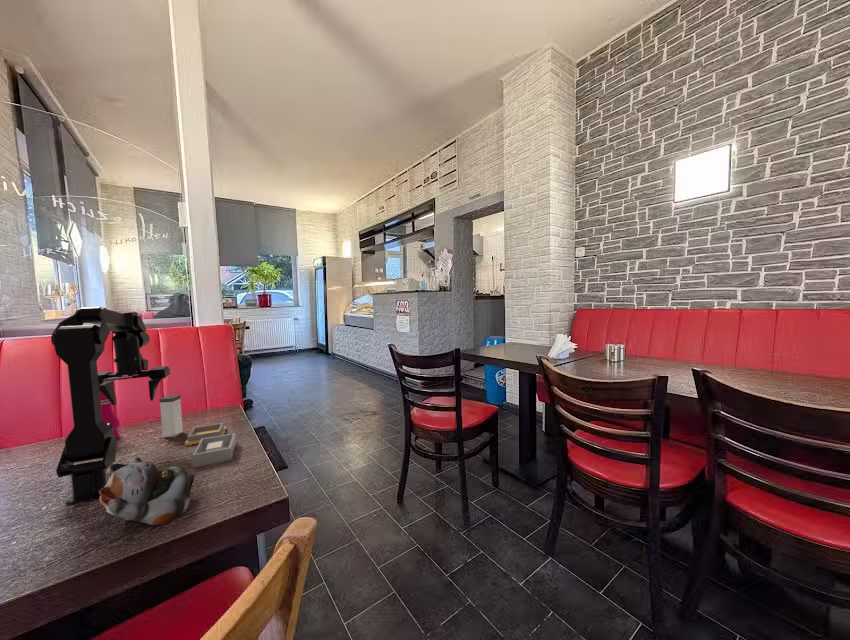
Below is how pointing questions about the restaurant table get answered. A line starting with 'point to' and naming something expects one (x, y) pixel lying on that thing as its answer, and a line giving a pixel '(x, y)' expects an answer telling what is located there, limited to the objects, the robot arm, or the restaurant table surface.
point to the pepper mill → (109, 414)
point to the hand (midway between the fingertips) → (133, 402)
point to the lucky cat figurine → (146, 492)
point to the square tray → (204, 433)
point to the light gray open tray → (214, 450)
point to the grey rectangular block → (171, 416)
